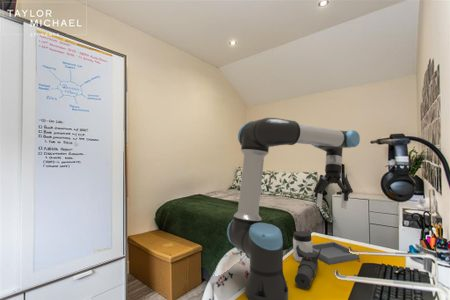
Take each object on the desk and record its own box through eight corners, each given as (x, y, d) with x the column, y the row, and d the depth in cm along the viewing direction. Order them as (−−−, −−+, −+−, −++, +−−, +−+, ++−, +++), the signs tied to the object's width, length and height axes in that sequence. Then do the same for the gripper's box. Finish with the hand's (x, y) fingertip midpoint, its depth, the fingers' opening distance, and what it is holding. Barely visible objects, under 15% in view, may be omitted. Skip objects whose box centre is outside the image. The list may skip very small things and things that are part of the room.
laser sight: (289, 286, 88) (288, 259, 89) (300, 262, 108) (300, 240, 109) (316, 293, 84) (316, 265, 84) (323, 267, 104) (322, 244, 104)
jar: (291, 255, 117) (291, 230, 117) (308, 255, 116) (307, 230, 117) (296, 263, 108) (296, 236, 108) (314, 263, 107) (314, 236, 108)
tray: (328, 264, 106) (328, 258, 106) (305, 251, 121) (305, 245, 121) (359, 259, 111) (359, 252, 111) (334, 247, 126) (334, 241, 126)
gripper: (362, 164, 110) (360, 210, 104) (318, 169, 132) (315, 207, 126) (352, 160, 107) (350, 206, 101) (308, 165, 129) (305, 204, 122)
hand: (330, 207), depth 113 cm, fingers open, 13 cm apart
